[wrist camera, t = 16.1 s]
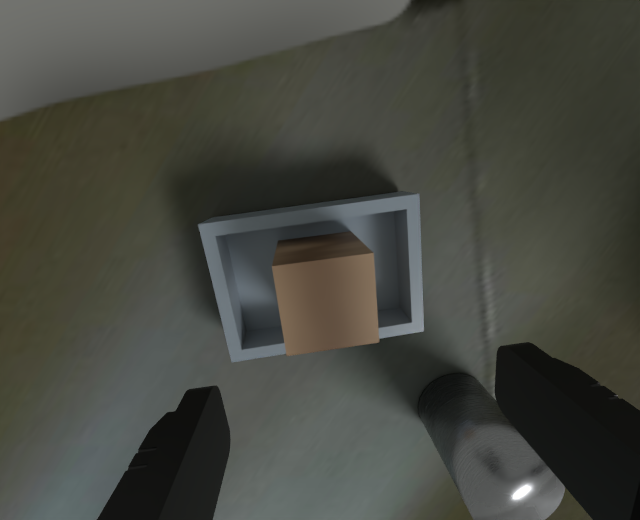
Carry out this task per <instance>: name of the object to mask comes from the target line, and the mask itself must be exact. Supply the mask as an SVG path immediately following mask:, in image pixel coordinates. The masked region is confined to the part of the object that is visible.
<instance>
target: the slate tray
mask: <svg viewBox="0 0 640 520" xmlns="http://www.w3.org/2000/svg"><path fill="white" fill-rule="evenodd" d="M198 226H199V231H200V235H201V239H202V243H203V247H204V251H205V255H206V259H207V263H208V267H209V271H210V275H211V280H212V284H213V288H214V292H215V296H216V300H217V304H218V308H219V312H220V316H221V320H222V325H223V329H224V333H225V337H226V341H227V345H228V349H229V353H230V357H231V361H232V362H237V361H243V360H250V359H256V358H262V357H268V356H274V355H281V354H286V349H285V343H284V337H283V331H282V325H281V319H280V313H279V307H278V301H277V295H276V289H275V283H274V277H273V271H272V264H273V259H274V255H275V251H276V247H277V243H278V241H279V240H286V239H294V238H302V237H310V236H318V235H326V234H333V233H341V232H349V231H351V232H352V233H353V234H354V235H355V236H357V237H358V238H359V239H360V240H361V241H362V242H363V243H364V244H365V245H366V246H367V247H368V248H369V249H370V250H371V251H372V252H373V253H374V266H375V281H376V297H377V313H378V328H379V339H380V338H386V337H392V336H398V335H405V334H411V333H417V332H423V331H424V317H423V288H422V258H421V229H420V199H419V194H417V193H410V192H403V191H400V192H393V193H386V194H378V195H371V196H364V197H357V198H350V199H342V200H335V201H328V202H321V203H313V204H306V205H299V206H292V207H284V208H277V209H270V210H263V211H255V212H248V213H241V214H234V215H227V216H219V217H212V218H210V219H208V220H206V221H204V222H202V223H200V224H198Z"/></svg>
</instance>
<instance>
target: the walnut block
mask: <svg viewBox="0 0 640 520" xmlns="http://www.w3.org/2000/svg"><path fill="white" fill-rule="evenodd" d="M272 271H273V277H274V283H275V289H276V295H277V301H278V307H279V313H280V319H281V325H282V331H283V337H284V343H285V349H286V355H287V356H291V355H298V354H305V353H311V352H318V351H325V350H332V349H338V348H345V347H352V346H359V345H366V344H372V343H379V328H378V313H377V297H376V281H375V266H374V253H373V252H372V251H371V250H370V249H369V248H368V247H367V246H366V245H365V244H364V243H363V242H362V241H361V240H360V239H359V238H358V237H357V236H355V235H354V234H353V233H352V232H351V231H349V232H341V233H333V234H326V235H318V236H310V237H302V238H294V239H286V240H279V241H278V243H277V247H276V251H275V255H274V259H273V264H272Z"/></svg>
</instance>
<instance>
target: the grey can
mask: <svg viewBox="0 0 640 520" xmlns="http://www.w3.org/2000/svg"><path fill="white" fill-rule="evenodd" d="M418 413H419V416H420V418H421V420H422V422H423V424H424V426H425V428H426V430H427V432H428V434H429V435H430V437H431V439H432V441H433V443H434V445H435V447H436V449H437V451H438V453H439V455H440V456H441V458H442V460H443V462H444V464H445V466H446V468H447V470H448V472H449V474H450V475H451V477H452V479H453V481H454V483H455V485H456V487H457V489H458V491H459V493H460V495H461V496H462V498H463V500H464V502H465V504H466V506H467V508H468V510H469V512H470V514H471V515H472V517H473V519H474V520H545V519H546V518H548V517H549V516H550V515H551V514H552V513H553V512H554V511H555V510H556V508H557V507H558V505H559V504H560V502H561V500H562V498H563V495H564V491H565V486H564V485H563V484H562V483H561V481H560V480H559V479H558V478H557V477H556V476H555V474H554V473H553V472H552V471H551V470H550V469H549V467H548V466H547V465H546V464H545V463H544V461H543V460H542V459H541V458H540V457H539V456H538V454H537V453H536V452H535V451H534V450H533V449H532V447H531V446H530V445H529V444H528V443H527V441H526V440H525V439H524V438H523V437H522V436H521V434H520V433H519V432H518V431H517V430H516V429H515V427H514V426H513V425H512V424H511V423H510V422H509V420H508V419H507V418H506V417H505V416H504V414H503V413H502V411H501V410H500V408H499V406H498V403H497V401H496V400H495V399H494V398H493V397H492V396H491V395H490V393H489V392H488V391H487V390H486V389H485V388H484V387H483V386H482V385H481V383H480V382H479V381H478V380H476V379H475V378H473V377H472V376H469V375H466V374H450V375H446V376H443V377H441V378H439V379H437V380H435V381H434V382H432V383H431V384H430V385H429V386H428V387H427V388H426V389H425V390H424V392H423V393H422V395H421V397H420V400H419V404H418Z"/></svg>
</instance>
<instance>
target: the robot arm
mask: <svg viewBox="0 0 640 520" xmlns="http://www.w3.org/2000/svg"><path fill="white" fill-rule="evenodd" d="M495 397H496V400H497V403H498V406H499V408H500V410H501V411H502V413H503V414H504V416H505V417H506V418H507V419H508V420H509V422H510V423H511V424H512V425H513V426H514V427H515V429H516V430H517V431H518V432H519V433H520V434H521V436H522V437H523V438H524V439H525V440H526V441H527V443H528V444H529V445H530V446H531V447H532V449H533V450H534V451H535V452H536V453H537V454H538V456H539V457H540V458H541V459H542V460H543V461H544V463H545V464H546V465H547V466H548V467H549V469H550V470H551V471H552V472H553V473H554V474H555V476H556V477H557V478H558V479H559V480H560V481H561V483H562V484H563V485H564V486H565V487H566V488H567V490H568V491H569V492H570V493H571V494H572V496H573V497H574V498H575V499H576V500H577V501H578V503H579V504H580V505H581V506H582V507H583V508H584V510H585V511H586V512H587V513H588V514H589V516H590V517H591V518H592V519H593V520H640V411H639V410H638V409H637V408H635V407H634V406H632V405H631V404H629V403H628V402H626V401H625V400H624V399H619V398H618V396H617V395H616V394H615V393H613V392H612V391H611V390H609V389H608V388H606V387H605V386H601V385H600V383H599V382H598V381H596V380H595V379H593V378H592V377H590V376H589V375H588V374H586V373H585V372H583V371H582V370H580V369H579V368H577V367H574V366H572V365H570V364H567V363H565V362H563V361H561V360H558V359H556V358H552V357H550V356H549V355H548V354H546V353H545V352H544V351H542V350H541V349H539V348H538V347H537V346H535V345H534V344H532V343H529V342H526V343H519V344H512V345H505V346H500V347H499V348H498V351H497V360H496V377H495ZM138 450H139V451H138V453H136V454H135V456H134V458H133V459H132V461H131V463H130V465H129V466H128V467H129V468H128V471H125V473H124V475H123V476H122V478H121V480H120V482H119V483H118V485H117V487H116V488H115V490H114V492H113V494H112V495H111V497H110V499H109V500H108V502H107V504H106V505H105V507H104V509H103V511H102V512H101V514H100V516H99V517H98V519H97V520H213V516H214V512H215V508H216V504H217V500H218V496H219V492H220V488H221V484H222V480H223V476H224V472H225V468H226V464H227V460H228V456H229V451H230V430H229V425H228V421H227V417H226V413H225V409H224V405H223V401H222V397H221V393H220V390H219V388H218V387H217V386H209V387H202V388H195V389H189V390H187V391H186V393H185V394H184V396H183V398H182V400H181V402H180V404H179V406H178V408H177V409H176V411H174V412H167V413H166V414H165V415H164V416H163V417H162V418H161V419H160V420H159V421H158V422H157V423H156V424H155V425H154V426H153V427H152V428H151V429H150V430H149V432H148V434H147V436H146V437H145V439H144V441H143V442H142V444H141V446H140V448H139V449H138Z"/></svg>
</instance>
